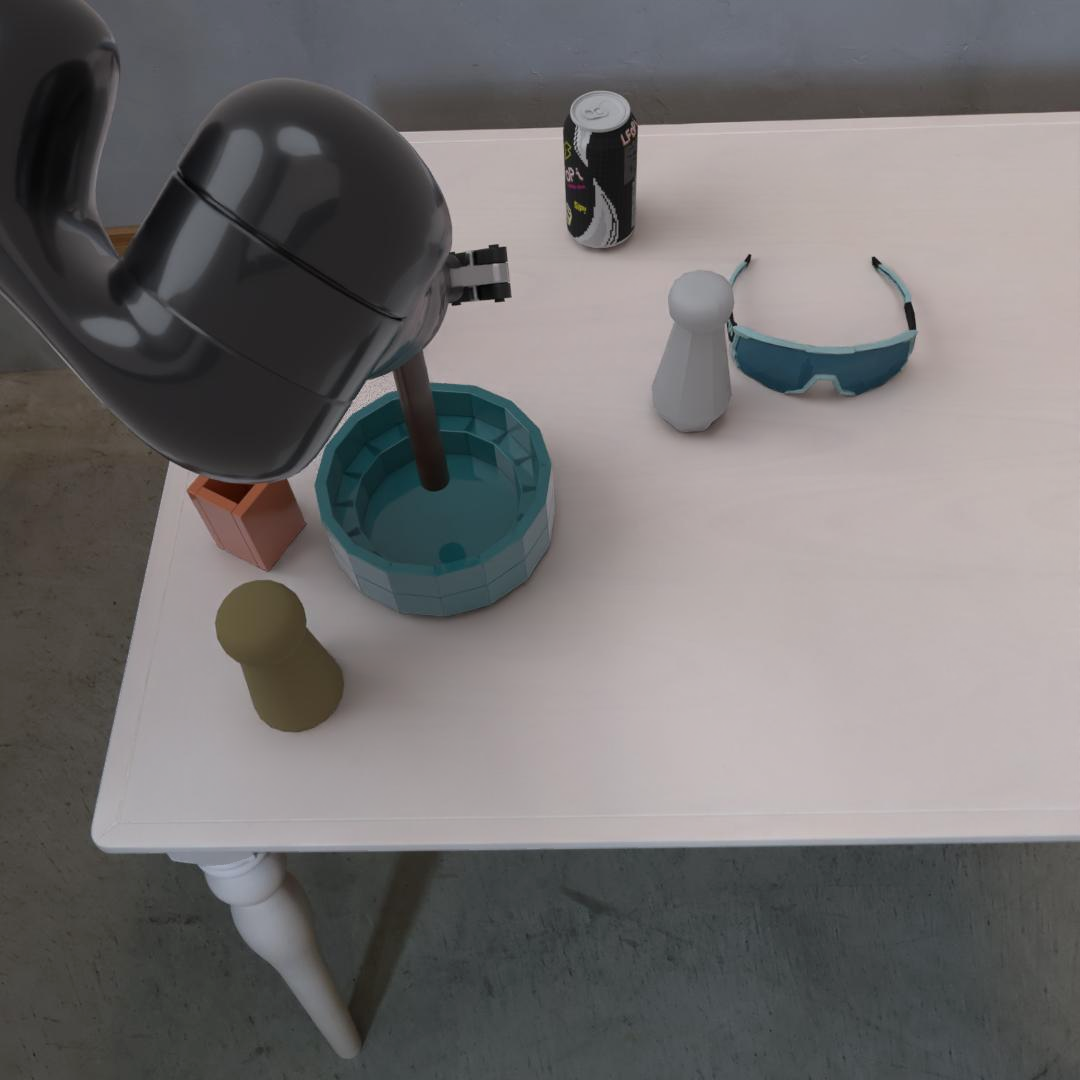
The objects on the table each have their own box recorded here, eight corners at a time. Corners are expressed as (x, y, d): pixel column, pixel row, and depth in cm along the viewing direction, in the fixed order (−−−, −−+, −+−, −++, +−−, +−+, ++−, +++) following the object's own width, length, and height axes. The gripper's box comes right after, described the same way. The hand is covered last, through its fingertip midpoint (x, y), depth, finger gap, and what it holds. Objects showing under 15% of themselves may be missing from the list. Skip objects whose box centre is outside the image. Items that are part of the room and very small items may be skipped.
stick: (414, 484, 75) (357, 264, 58) (430, 463, 76) (378, 239, 59) (439, 496, 75) (388, 276, 58) (455, 474, 76) (410, 252, 59)
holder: (216, 546, 80) (185, 490, 74) (256, 498, 82) (228, 440, 76) (268, 572, 79) (240, 517, 73) (306, 523, 81) (282, 466, 75)
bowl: (291, 561, 79) (269, 514, 74) (412, 406, 86) (400, 353, 81) (480, 657, 74) (470, 613, 69) (593, 484, 81) (591, 434, 76)
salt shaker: (645, 437, 83) (651, 314, 72) (655, 378, 86) (662, 251, 75) (725, 446, 82) (743, 323, 71) (732, 386, 85) (750, 259, 74)
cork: (309, 748, 71) (264, 674, 62) (233, 706, 73) (178, 628, 64) (362, 671, 74) (326, 589, 65) (287, 633, 76) (242, 548, 67)
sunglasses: (724, 400, 84) (730, 349, 80) (721, 277, 94) (726, 225, 90) (917, 406, 83) (932, 354, 79) (894, 280, 93) (907, 228, 89)
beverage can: (556, 219, 96) (550, 97, 86) (617, 199, 97) (618, 76, 87) (583, 263, 93) (580, 142, 83) (646, 241, 94) (651, 119, 84)
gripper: (510, 173, 45) (510, 203, 62) (170, 209, 45) (262, 229, 62) (529, 360, 47) (524, 340, 64) (201, 394, 47) (283, 366, 64)
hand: (395, 286), depth 63 cm, fingers closed on stick, 2 cm apart
